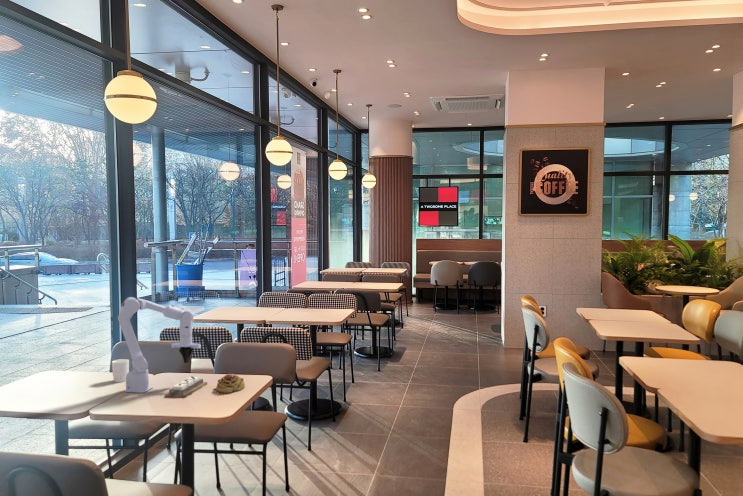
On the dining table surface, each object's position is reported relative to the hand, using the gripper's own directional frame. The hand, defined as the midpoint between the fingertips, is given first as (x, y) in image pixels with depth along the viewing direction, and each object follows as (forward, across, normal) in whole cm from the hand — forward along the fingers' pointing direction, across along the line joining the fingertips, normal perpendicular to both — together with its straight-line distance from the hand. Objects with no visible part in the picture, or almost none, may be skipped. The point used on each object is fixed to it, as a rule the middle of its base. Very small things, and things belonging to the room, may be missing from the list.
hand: (186, 362), depth 260 cm
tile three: (+9, -6, +4) cm, 12 cm away
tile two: (+9, -6, +10) cm, 15 cm away
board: (+10, -6, +10) cm, 16 cm away
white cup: (+11, +36, 0) cm, 38 cm away
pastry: (+11, -25, +5) cm, 28 cm away
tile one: (+9, -6, +16) cm, 20 cm away
